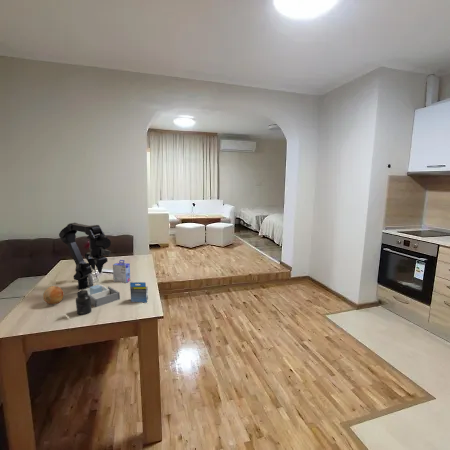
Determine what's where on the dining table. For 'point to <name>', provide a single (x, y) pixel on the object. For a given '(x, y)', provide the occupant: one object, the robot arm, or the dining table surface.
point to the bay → (105, 298)
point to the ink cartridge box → (121, 272)
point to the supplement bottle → (83, 303)
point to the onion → (53, 295)
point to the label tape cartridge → (139, 292)
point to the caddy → (101, 294)
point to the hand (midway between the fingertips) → (96, 271)
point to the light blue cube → (95, 289)
